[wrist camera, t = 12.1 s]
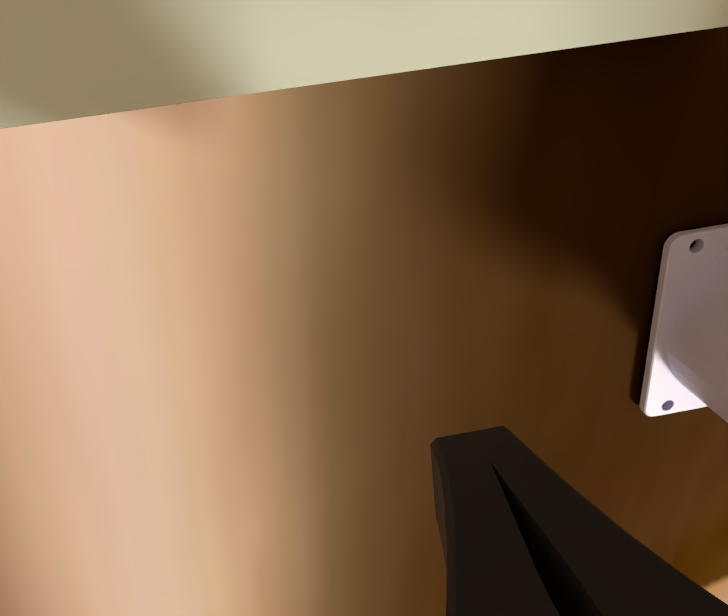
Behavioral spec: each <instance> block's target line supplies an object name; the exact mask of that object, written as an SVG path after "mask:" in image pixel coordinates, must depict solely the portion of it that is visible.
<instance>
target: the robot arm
mask: <svg viewBox="0 0 728 616" xmlns="http://www.w3.org/2000/svg"><path fill="white" fill-rule="evenodd" d="M694 240H696V242H695V245H694V246H693V247H692V248H690V245H691V243H692V242H693V241H694ZM665 401H666V402H665ZM664 402H665V403H664ZM663 403H664V404H663ZM706 406H708V407H709V408H710V409H712V410H713V411H714V412H715V413H716V414H718V415H719V416H720V417H721V418H722V419H724V420H725V421H726V422H727V423H728V224H723V225H717V226H711V227H705V228H699V229H693V230H687V231H681V232H677V233H674V234H672V235H671V236H670V237H669V238H668V239H667V240H666V242H665V244H664V247H663V253H662V259H661V266H660V273H659V279H658V286H657V292H656V299H655V306H654V312H653V319H652V326H651V332H650V339H649V346H648V352H647V359H646V365H645V372H644V379H643V385H642V392H641V399H640V409H641V410H642V411H643V412H644V413H645V414H646V415H647V416H650V417H651V416H659V415H664V414H669V413H675V412H680V411H685V410H691V409H696V408H701V407H706ZM430 447H431V459H432V472H433V484H434V497H435V509H436V518H437V522H438V527H439V531H440V535H441V540H442V546H443V551H444V556H445V562H446V568H447V603H446V616H728V605H727V604H726V603H724V602H723V601H721V600H720V599H718V598H717V597H715V596H714V595H712V594H711V593H709V592H708V591H706V590H705V589H704V588H702V587H701V586H699V585H698V584H696V583H695V582H694V581H692V580H691V579H689V578H688V577H687V576H685V575H684V574H682V573H681V572H680V571H678V570H677V569H675V568H674V567H673V566H671V565H670V564H669V563H667V562H666V561H665V560H663V559H662V558H661V557H659V556H658V555H657V554H655V553H654V552H653V551H651V550H650V549H649V548H647V547H646V546H645V545H643V544H642V543H641V542H639V541H638V540H637V539H635V538H634V537H633V536H632V535H630V534H629V533H628V532H626V531H625V530H624V529H623V528H621V527H620V526H619V525H618V524H616V523H615V522H614V521H613V520H611V519H610V518H609V517H608V516H606V515H605V514H604V513H603V512H602V511H600V510H599V509H598V508H597V507H596V506H594V505H593V504H592V503H591V502H590V501H588V500H587V499H586V498H585V497H583V496H582V495H581V494H580V493H579V492H577V491H576V490H575V489H574V488H573V487H572V486H570V485H569V484H568V483H567V482H566V481H565V480H564V479H562V478H561V477H560V476H559V475H558V474H557V473H556V472H555V471H553V470H552V469H551V468H550V467H549V466H548V465H547V464H545V463H544V462H543V461H542V460H541V459H540V458H539V457H538V456H537V455H536V454H534V453H533V452H532V451H531V450H530V449H529V448H528V447H527V446H526V445H525V444H524V443H523V442H521V441H520V440H519V439H518V438H517V437H516V436H515V435H514V434H513V433H512V432H511V431H510V430H508V429H507V428H506V427H504V426H500V427H495V428H489V429H484V430H478V431H473V432H467V433H462V434H456V435H451V436H446V437H440V438H436V439H435V440H434V441H433V442H432V443H431V444H430Z"/></svg>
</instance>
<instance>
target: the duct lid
mask: <svg viewBox="0 0 728 616" xmlns="http://www.w3.org/2000/svg"><path fill="white" fill-rule="evenodd" d="M725 26H728V0H0V129H2V128H10V127H17V126H24V125H31V124H38V123H45V122H52V121H59V120H66V119H73V118H80V117H88V116H95V115H102V114H109V113H116V112H123V111H130V110H137V109H144V108H151V107H158V106H165V105H173V104H180V103H187V102H194V101H201V100H208V99H215V98H222V97H229V96H236V95H243V94H251V93H258V92H265V91H272V90H279V89H286V88H293V87H300V86H307V85H314V84H321V83H328V82H336V81H343V80H350V79H357V78H364V77H371V76H378V75H385V74H392V73H399V72H406V71H413V70H421V69H428V68H435V67H442V66H449V65H456V64H463V63H470V62H477V61H484V60H491V59H499V58H506V57H513V56H520V55H527V54H534V53H541V52H548V51H555V50H562V49H569V48H576V47H584V46H591V45H598V44H605V43H612V42H619V41H626V40H633V39H640V38H647V37H654V36H662V35H669V34H676V33H683V32H690V31H697V30H704V29H711V28H718V27H725Z"/></svg>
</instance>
